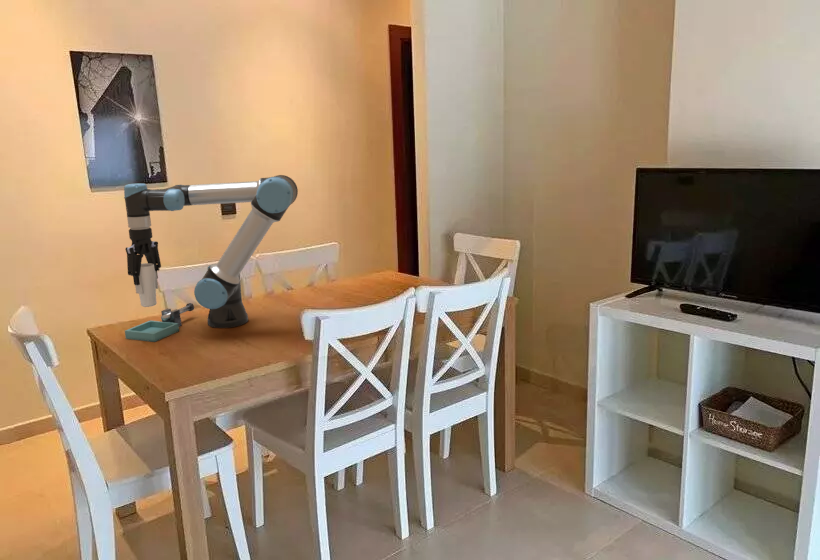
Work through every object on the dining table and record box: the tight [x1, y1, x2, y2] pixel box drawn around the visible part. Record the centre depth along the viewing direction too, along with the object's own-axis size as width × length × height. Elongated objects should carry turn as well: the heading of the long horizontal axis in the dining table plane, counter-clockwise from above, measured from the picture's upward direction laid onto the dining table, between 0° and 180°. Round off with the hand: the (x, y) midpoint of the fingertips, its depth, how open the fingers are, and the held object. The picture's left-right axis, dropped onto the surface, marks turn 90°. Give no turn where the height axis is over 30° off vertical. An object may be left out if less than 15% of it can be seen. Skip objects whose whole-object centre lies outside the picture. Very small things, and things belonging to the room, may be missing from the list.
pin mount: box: [160, 307, 182, 328], centre depth 244 cm, size 6×4×6 cm, turn 70°
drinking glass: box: [138, 262, 158, 308], centre depth 231 cm, size 7×7×15 cm
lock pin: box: [160, 302, 195, 321], centre depth 247 cm, size 3×16×3 cm, turn 160°
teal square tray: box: [124, 320, 180, 343], centre depth 235 cm, size 13×13×3 cm
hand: (147, 290), depth 231 cm, fingers closed on drinking glass, 7 cm apart
